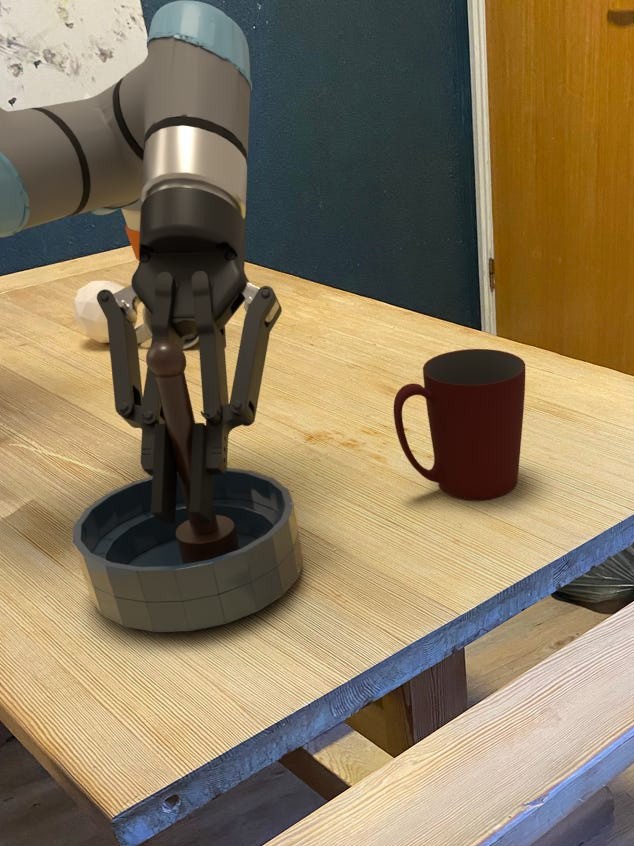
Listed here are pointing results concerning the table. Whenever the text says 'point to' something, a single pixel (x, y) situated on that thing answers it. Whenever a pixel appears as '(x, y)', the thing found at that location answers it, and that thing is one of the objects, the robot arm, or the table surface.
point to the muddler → (186, 455)
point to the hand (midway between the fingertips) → (182, 517)
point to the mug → (470, 421)
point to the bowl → (162, 564)
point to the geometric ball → (93, 310)
